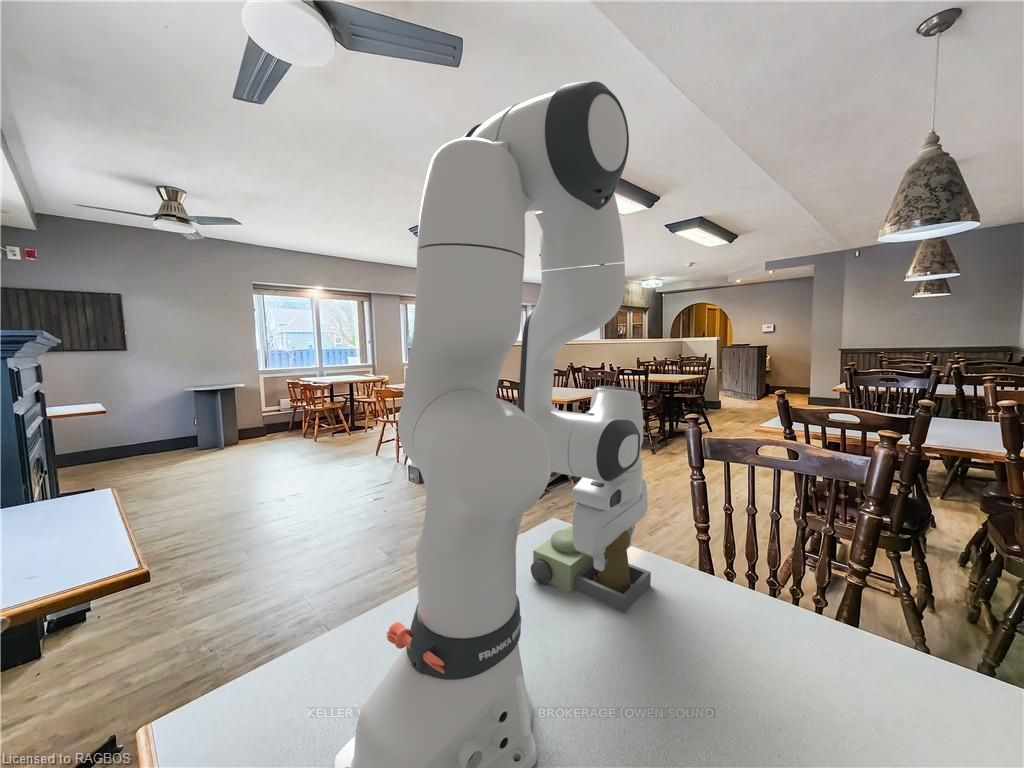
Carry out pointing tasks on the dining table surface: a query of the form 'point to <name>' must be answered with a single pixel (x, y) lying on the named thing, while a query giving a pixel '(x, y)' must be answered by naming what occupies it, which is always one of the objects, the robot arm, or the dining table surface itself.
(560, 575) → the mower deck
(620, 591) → the brown knobbed peg
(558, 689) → the dining table surface
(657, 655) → the dining table surface
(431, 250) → the robot arm
